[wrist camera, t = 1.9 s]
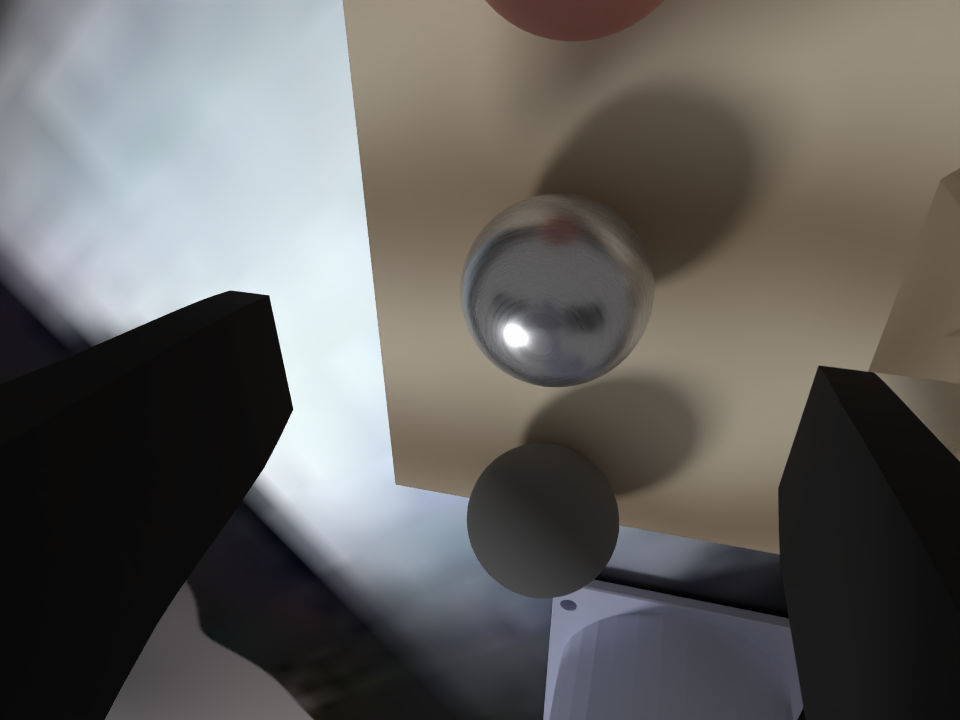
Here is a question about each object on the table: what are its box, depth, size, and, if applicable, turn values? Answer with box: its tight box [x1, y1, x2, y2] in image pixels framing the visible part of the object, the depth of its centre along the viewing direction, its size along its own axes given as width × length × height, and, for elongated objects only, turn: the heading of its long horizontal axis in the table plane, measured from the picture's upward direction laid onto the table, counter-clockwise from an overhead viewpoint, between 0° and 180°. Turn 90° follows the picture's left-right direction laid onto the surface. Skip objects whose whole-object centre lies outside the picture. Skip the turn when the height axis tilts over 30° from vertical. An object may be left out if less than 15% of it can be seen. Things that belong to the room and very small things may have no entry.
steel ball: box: [460, 193, 654, 387], centre depth 12 cm, size 3×3×3 cm
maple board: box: [343, 0, 960, 554], centre depth 13 cm, size 14×20×2 cm
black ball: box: [467, 443, 619, 598], centre depth 15 cm, size 3×3×3 cm
